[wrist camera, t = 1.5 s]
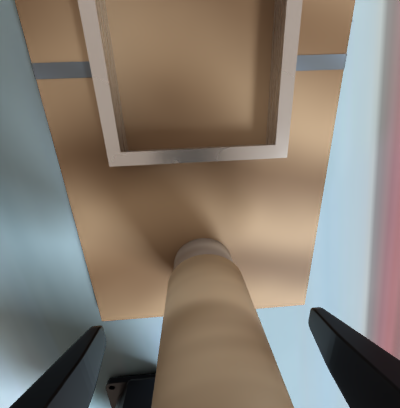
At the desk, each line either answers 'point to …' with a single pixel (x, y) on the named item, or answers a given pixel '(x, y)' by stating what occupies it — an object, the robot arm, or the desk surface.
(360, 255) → the desk surface
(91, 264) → the subfloor panel
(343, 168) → the desk surface
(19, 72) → the desk surface
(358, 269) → the desk surface
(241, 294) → the beige rounded cylinder
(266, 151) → the collar
